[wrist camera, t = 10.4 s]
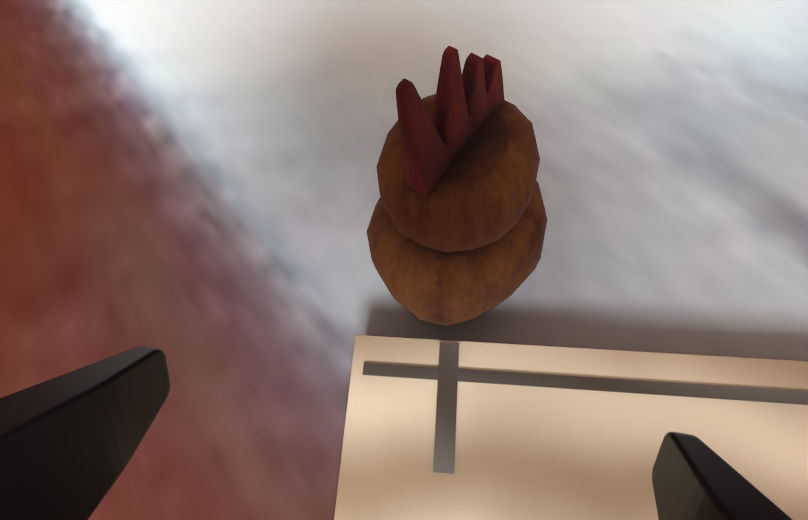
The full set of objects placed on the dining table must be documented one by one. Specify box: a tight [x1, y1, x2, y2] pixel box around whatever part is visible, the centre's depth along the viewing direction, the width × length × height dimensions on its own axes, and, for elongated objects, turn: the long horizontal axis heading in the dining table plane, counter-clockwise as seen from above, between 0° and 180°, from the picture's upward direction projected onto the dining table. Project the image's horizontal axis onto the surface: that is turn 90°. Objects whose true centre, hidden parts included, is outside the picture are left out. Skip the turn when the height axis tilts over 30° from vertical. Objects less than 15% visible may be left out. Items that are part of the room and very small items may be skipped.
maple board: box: [334, 335, 808, 520], centre depth 19 cm, size 11×20×2 cm, turn 86°
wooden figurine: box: [367, 46, 547, 326], centre depth 17 cm, size 7×6×15 cm
